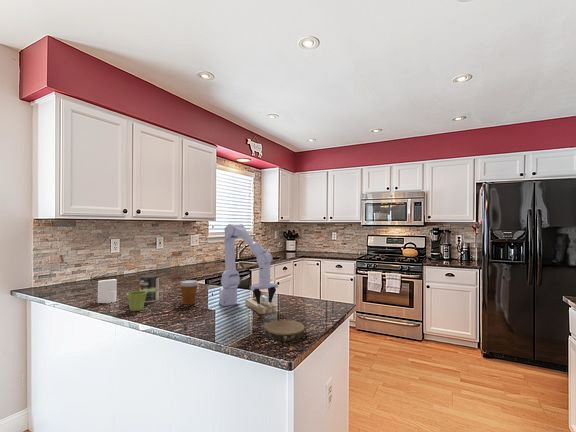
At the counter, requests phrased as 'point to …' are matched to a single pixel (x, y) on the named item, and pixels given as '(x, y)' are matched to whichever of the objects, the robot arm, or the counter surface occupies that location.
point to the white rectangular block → (107, 291)
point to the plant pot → (136, 300)
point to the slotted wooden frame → (260, 306)
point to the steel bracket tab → (264, 301)
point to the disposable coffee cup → (189, 291)
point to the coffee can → (150, 287)
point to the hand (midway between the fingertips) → (264, 303)
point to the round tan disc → (284, 330)
